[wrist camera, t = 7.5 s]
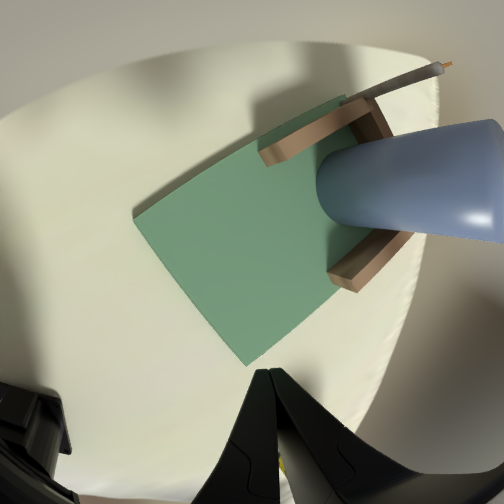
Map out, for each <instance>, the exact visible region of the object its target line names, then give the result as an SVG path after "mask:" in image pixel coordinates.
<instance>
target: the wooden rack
mask: <svg viewBox="0 0 504 504" xmlns="http://www.w3.org/2000/svg"><path fill="white" fill-rule="evenodd" d="M450 65H452V62H449V63H445V64H441V63H440V62H435V63H432V64H429V65H426V66H424V67H421V68H418V69H415V70H413V71H410V72H407V73H405V74H402V75H400V76H397V77H395V78H392V79H390V80H387V81H385V82H383V83H380V84H378V85H376V86H373V87H371V88H369V89H366V90H364V91H362V92H360V93H357V94H355V95H353V96H351V97H349V98H346V99H344V100H342V101H340V103H339V105H340V107H339V108H337V109H335V110H333V111H331V112H329V113H327V114H325V115H323V116H321V117H319V118H317V119H316V120H314V121H312V122H310V123H308V124H306V125H304V126H303V127H301V128H299V129H297V130H295V131H293V132H292V133H290V134H288V135H286V136H285V137H283V138H281V139H279V140H278V141H276V142H274V143H272V144H271V145H269V146H267V147H265V148H264V149H262V150H260V151H259V152H258V154H259V155H260V157H261V158H262V160H263V162H264V163H265V165H266V167H269V166H272V165H275V164H278V163H280V162H283V161H286V160H288V159H290V158H292V157H293V156H295V155H297V154H298V153H300V152H301V151H303V150H305V149H306V148H308V147H310V146H311V145H313V144H315V143H316V142H318V141H320V140H321V139H323V138H325V137H326V136H328V135H330V134H331V133H333V132H335V131H337V130H338V129H340V128H342V127H343V126H345V125H347V124H348V125H349V127H350V129H351V131H352V132H353V134H354V136H355V138H356V140H357V142H358V144H359V145H360V144H364V143H368V142H372V141H376V140H380V139H385V138H389V137H393V134H392V132H391V130H390V127H389V125H388V123H387V121H386V119H385V117H384V115H383V114H382V112H381V110H380V108H379V106H378V104H377V102H376V100H375V97H378V96H380V95H383V94H385V93H388V92H391V91H393V90H396V89H399V88H402V87H405V86H407V85H410V84H413V83H416V82H419V81H422V80H425V79H428V78H431V77H434V76H438V75H441V74H444V68H445V67H447V66H450ZM414 233H415V232H408V231H399V230H389V229H379V228H374V229H373V230H372V231H371V232H370V233H369V234H368V235H367V236H366V237H365V238H364V239H363V240H362V241H360V242H359V243H358V244H357V245H356V246H355V247H354V248H353V249H352V250H351V251H349V252H348V253H347V254H346V255H345V256H344V257H343V258H342V259H341V260H339V261H338V262H337V263H336V264H335V265H334V266H333V267H332V268H330V269H329V270H328V271H327V274H328V276H329V278H330V280H331V282H332V284H334V285H337V286H340V287H342V288H345V289H348V290H350V291H353V292H355V293H358V292H359V291H360V290H361V289H362V288H363V287H364V286H365V285H366V284H367V283H368V282H369V281H370V280H371V279H372V278H373V277H374V276H375V275H376V274H377V273H378V272H379V271H380V270H381V269H382V268H383V267H384V266H385V264H386V263H387V262H388V261H389V260H390V259H391V258H392V257H393V256H394V255H395V254H396V253H397V252H398V251H399V250H400V248H401V247H402V246H403V245H404V244H405V243H406V242H407V241H408V240H409V239H410V237H411V236H412V235H413V234H414Z"/></svg>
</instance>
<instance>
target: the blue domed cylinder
mask: <svg viewBox="0 0 504 504" xmlns="http://www.w3.org/2000/svg"><path fill="white" fill-rule="evenodd" d="M316 192H317V197H318V200H319V203H320V205H321V207H322V209H323V210H324V212H325V213H326V215H327V216H328V217H329V218H330V219H332V220H333V221H334V222H336V223H338V224H341V225H347V226H358V227H369V228H379V229H389V230H399V231H408V232H418V233H426V234H435V235H443V236H451V237H459V238H468V239H475V240H483V241H490V242H496V243H504V131H503V130H502V128H501V126H500V125H499V124H498V123H497V122H496V121H495V120H493V119H487V120H480V121H473V122H467V123H461V124H455V125H448V126H443V127H437V128H432V129H427V130H422V131H417V132H412V133H407V134H402V135H398V136H393V137H389V138H385V139H380V140H376V141H372V142H368V143H364V144H360V145H356V146H352V147H348V148H344V149H341V150H337V151H334V152H332V153H330V154H329V155H327V156H326V157H325V158H324V159H323V161H322V162H321V164H320V166H319V169H318V172H317V176H316Z"/></svg>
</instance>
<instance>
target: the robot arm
mask: <svg viewBox="0 0 504 504" xmlns="http://www.w3.org/2000/svg"><path fill="white" fill-rule="evenodd" d="M55 403H57V404H58V405H56V404H55ZM278 448H279V452H280V455H281V459H282V462H283V465H284V469H285V472H286V475H287V479H288V482H289V485H290V488H291V492H292V495H293V498H294V501H295V504H504V462H503V463H502V464H501V465H499V466H498V467H496V468H495V469H492V470H490V471H487V472H482V473H472V474H424V473H419V472H415V471H413V470H410V469H408V468H406V467H404V466H403V465H401V464H399V463H397V462H396V461H394V460H392V459H391V458H389V457H387V456H386V455H384V454H382V453H381V452H379V451H377V450H376V449H375V448H373V447H371V446H370V445H369V444H367V443H366V442H364V441H363V440H362V439H360V438H359V437H358V436H356V435H355V434H354V433H353V432H352V431H350V430H349V429H348V428H347V427H344V425H343V424H342V423H341V422H340V421H339V420H338V419H337V418H335V417H334V416H333V415H332V414H331V413H330V412H329V411H327V410H326V409H325V408H324V407H323V406H322V405H321V404H320V403H319V402H317V401H316V400H315V399H314V398H313V397H312V396H311V395H310V394H309V393H308V392H307V391H305V390H304V389H303V388H302V387H301V386H300V385H299V384H298V383H297V382H296V381H295V380H294V379H293V378H292V377H291V376H290V375H288V374H287V373H286V372H285V371H284V370H283V369H282V368H270V369H269V370H268V369H257V370H255V373H254V375H253V378H252V381H251V383H250V386H249V388H248V391H247V394H246V396H245V399H244V401H243V404H242V406H241V409H240V411H239V414H238V416H237V419H236V421H235V424H234V426H233V429H232V431H231V434H230V436H229V439H228V442H227V443H226V446H225V448H224V450H223V452H222V454H221V457H220V459H219V461H218V463H217V465H216V466H215V468H214V470H213V471H212V473H211V475H210V476H209V478H208V479H207V481H206V482H205V484H204V485H203V487H202V488H201V489H200V491H199V492H198V494H197V495H196V497H195V498H194V500H193V501H192V502H191V504H280V484H279V457H278ZM58 453H62V454H67V455H70V454H71V453H72V448H71V444H70V440H69V435H68V431H67V426H66V421H65V416H64V411H63V405H62V402H61V401H60V400H59V399H58V398H55V397H51V396H47V395H43V394H39V393H35V392H31V391H28V390H24V389H21V388H18V387H14V386H11V385H8V384H5V383H2V382H0V504H80V502H79V498H78V494H76V493H75V492H73V491H71V490H68V489H67V488H65V487H63V486H62V485H60V484H59V483H57V482H56V481H54V474H55V468H56V463H57V458H58Z"/></svg>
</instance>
